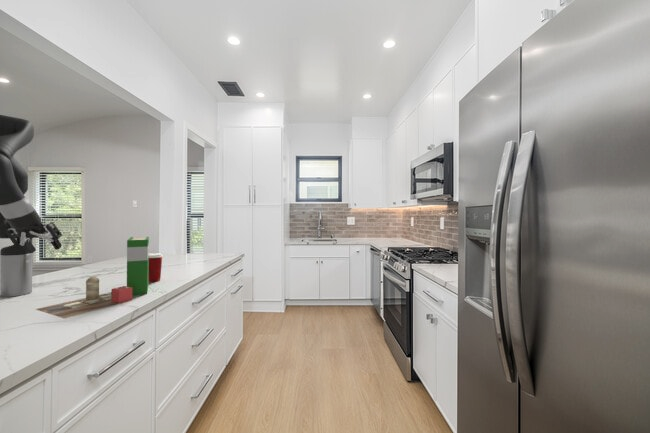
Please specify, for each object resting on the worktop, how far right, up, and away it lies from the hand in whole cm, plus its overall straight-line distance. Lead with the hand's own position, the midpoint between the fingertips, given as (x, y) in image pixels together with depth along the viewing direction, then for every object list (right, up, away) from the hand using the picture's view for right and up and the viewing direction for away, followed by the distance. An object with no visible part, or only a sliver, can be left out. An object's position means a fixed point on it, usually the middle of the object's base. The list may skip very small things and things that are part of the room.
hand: (46, 250), depth 103 cm
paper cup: (+13, -22, +44) cm, 51 cm away
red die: (+21, -22, +10) cm, 32 cm away
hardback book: (+17, -22, +26) cm, 38 cm away
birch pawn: (+10, -21, +9) cm, 25 cm away
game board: (+11, -22, +5) cm, 25 cm away
